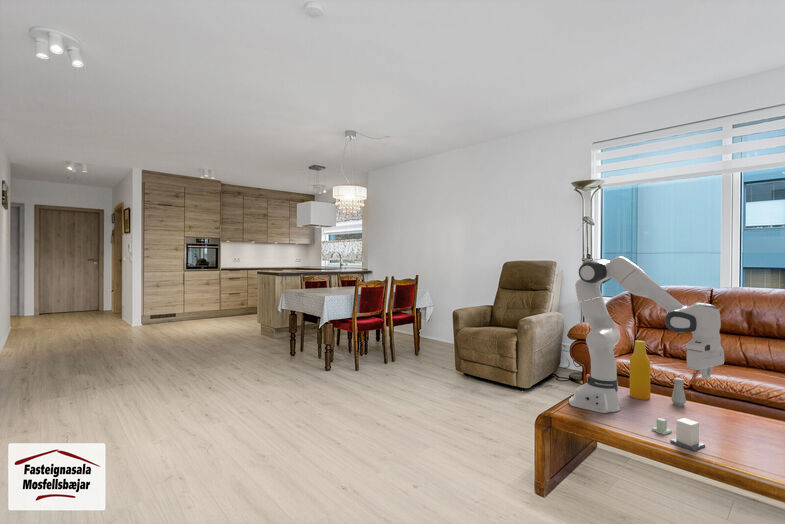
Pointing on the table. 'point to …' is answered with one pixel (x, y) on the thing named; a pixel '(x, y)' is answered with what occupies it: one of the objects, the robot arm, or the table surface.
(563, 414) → the table surface
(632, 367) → the beer bottle
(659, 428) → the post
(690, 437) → the white rectangular block
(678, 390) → the salt shaker
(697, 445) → the post
